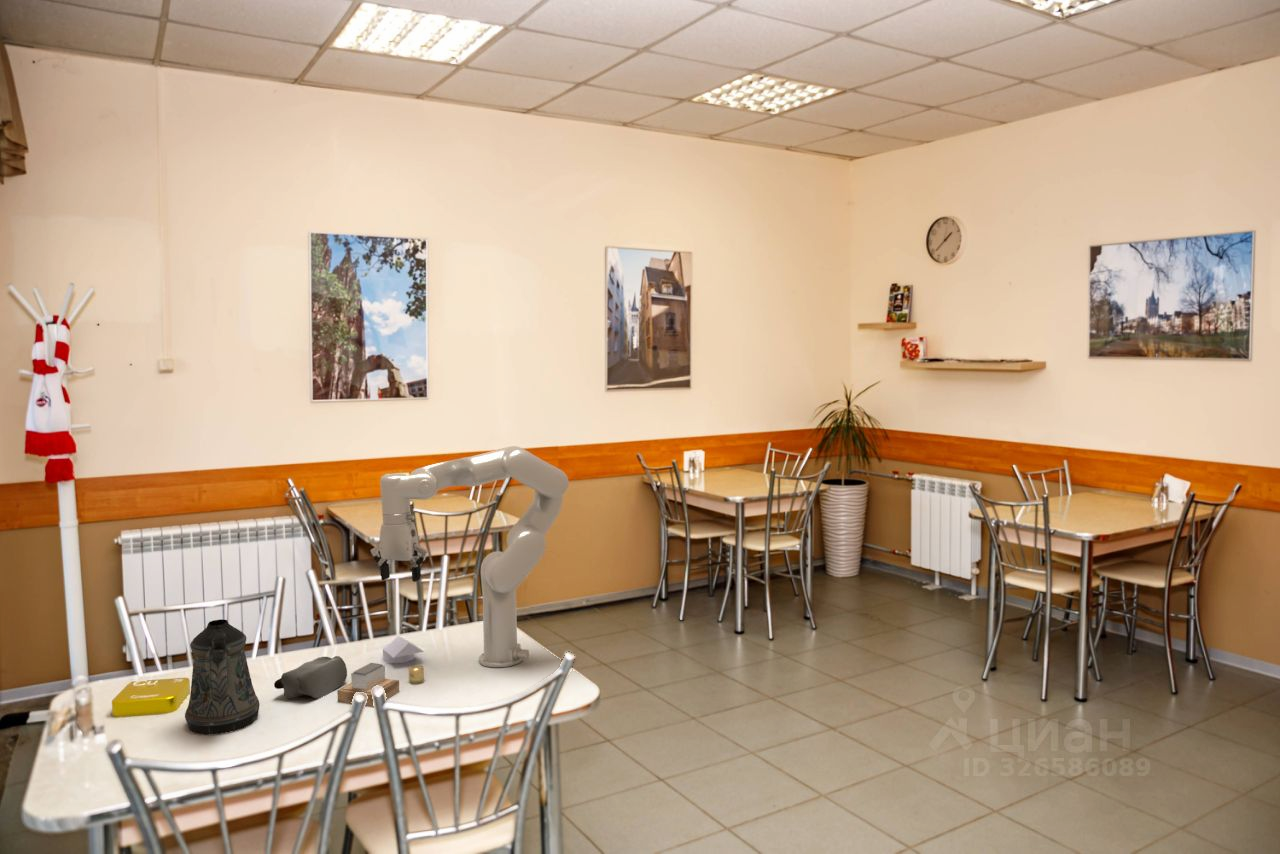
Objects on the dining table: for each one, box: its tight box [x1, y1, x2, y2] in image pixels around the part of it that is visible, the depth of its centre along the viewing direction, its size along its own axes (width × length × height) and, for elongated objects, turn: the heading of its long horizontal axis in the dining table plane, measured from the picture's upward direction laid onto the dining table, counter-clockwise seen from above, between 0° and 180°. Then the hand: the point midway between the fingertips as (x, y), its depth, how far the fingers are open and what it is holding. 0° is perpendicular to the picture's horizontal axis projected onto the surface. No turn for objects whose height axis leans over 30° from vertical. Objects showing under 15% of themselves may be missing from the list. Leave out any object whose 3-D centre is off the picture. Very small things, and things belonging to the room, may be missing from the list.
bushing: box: [408, 664, 425, 686], centre depth 250 cm, size 4×4×4 cm
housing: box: [350, 662, 386, 691], centre depth 240 cm, size 8×4×4 cm, turn 159°
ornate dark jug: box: [184, 619, 261, 736], centre depth 223 cm, size 16×19×25 cm
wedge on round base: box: [382, 635, 425, 664], centre depth 268 cm, size 9×7×13 cm
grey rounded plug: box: [273, 655, 348, 699], centre depth 245 cm, size 18×11×8 cm, turn 159°
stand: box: [337, 678, 400, 708], centre depth 240 cm, size 11×11×3 cm
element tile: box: [111, 677, 191, 718], centre depth 237 cm, size 15×15×5 cm
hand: (401, 579), depth 255 cm, fingers open, 9 cm apart
